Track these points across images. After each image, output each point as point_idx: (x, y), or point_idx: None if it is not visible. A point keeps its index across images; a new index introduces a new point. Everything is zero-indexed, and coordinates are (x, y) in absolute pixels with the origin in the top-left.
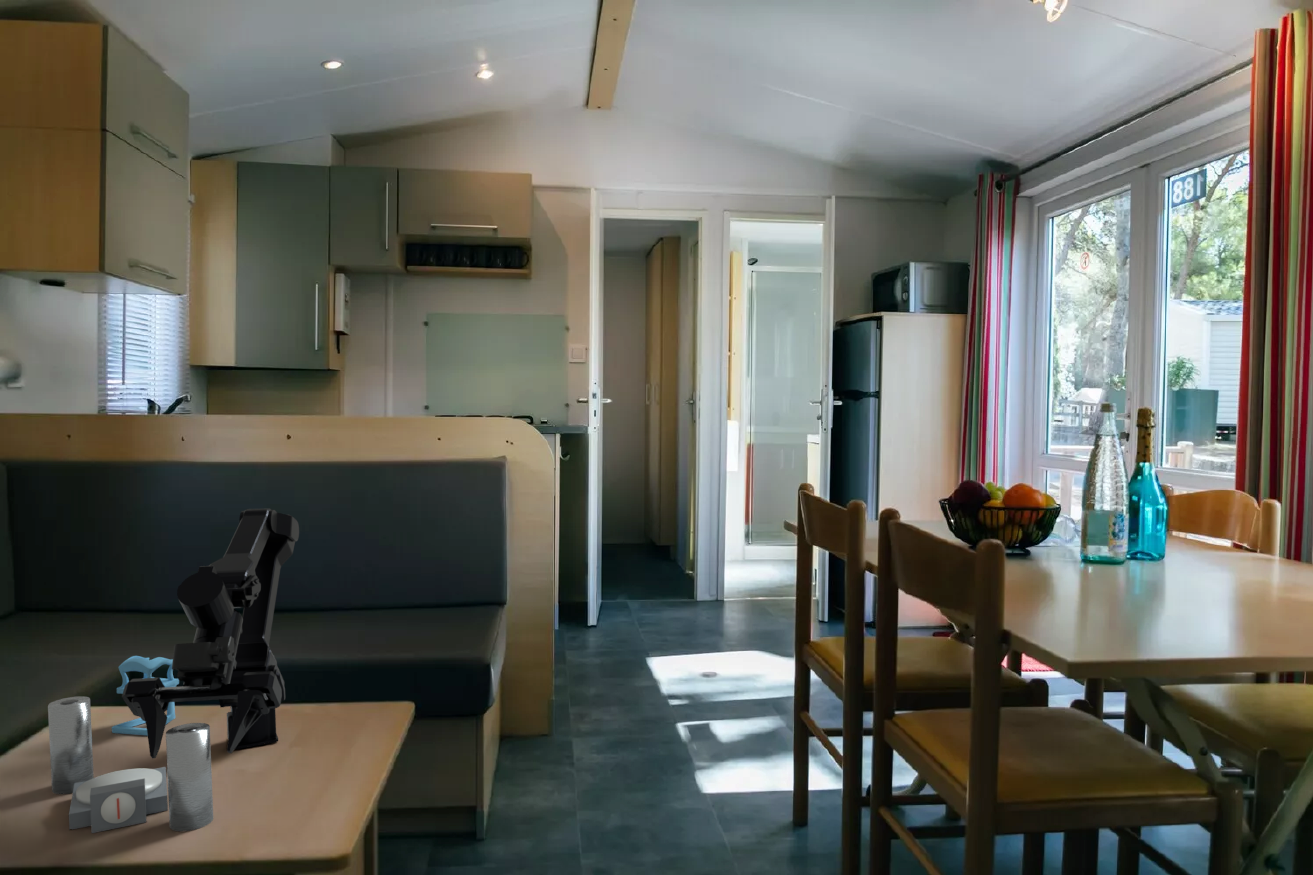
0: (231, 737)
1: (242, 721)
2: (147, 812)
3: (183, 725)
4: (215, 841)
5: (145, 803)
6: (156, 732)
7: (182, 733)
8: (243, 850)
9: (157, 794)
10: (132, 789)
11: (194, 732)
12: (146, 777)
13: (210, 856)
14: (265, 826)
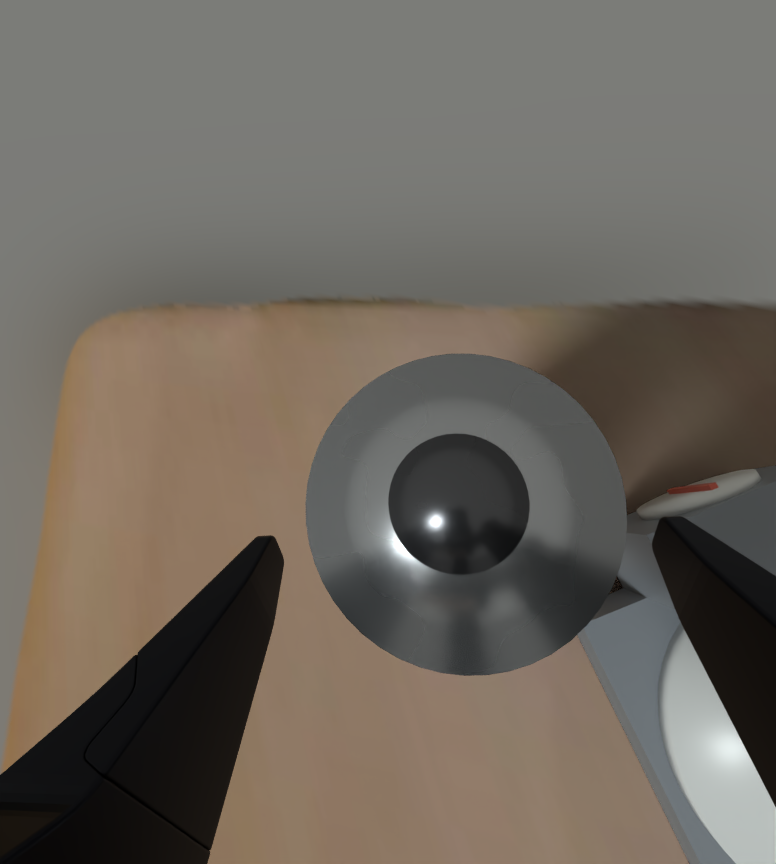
0: (229, 577)
1: (121, 674)
2: (622, 590)
3: (542, 615)
4: (345, 390)
5: None
6: (771, 638)
7: (462, 417)
8: (267, 341)
9: (623, 637)
10: (684, 517)
11: (379, 429)
12: (757, 793)
13: (331, 319)
14: (247, 459)
